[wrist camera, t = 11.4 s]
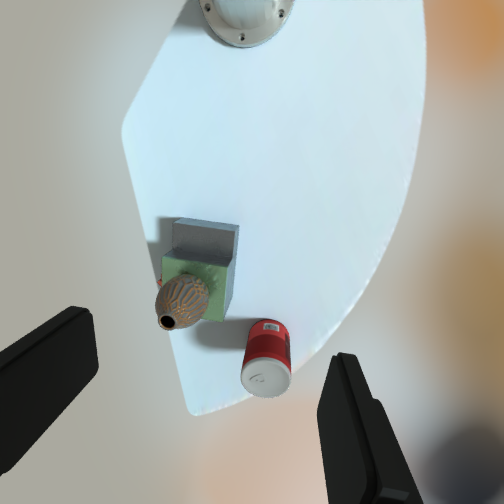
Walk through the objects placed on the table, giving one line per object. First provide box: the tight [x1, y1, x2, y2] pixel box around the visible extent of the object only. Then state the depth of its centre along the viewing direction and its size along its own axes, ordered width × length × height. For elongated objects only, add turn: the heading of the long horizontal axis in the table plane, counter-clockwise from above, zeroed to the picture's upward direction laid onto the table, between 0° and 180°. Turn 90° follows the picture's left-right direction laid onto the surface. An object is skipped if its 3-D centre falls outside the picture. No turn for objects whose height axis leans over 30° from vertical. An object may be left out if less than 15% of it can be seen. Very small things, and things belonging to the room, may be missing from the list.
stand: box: [157, 218, 239, 322], centre depth 41 cm, size 14×11×8 cm
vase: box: [155, 274, 209, 330], centre depth 34 cm, size 7×7×9 cm
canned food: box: [241, 319, 291, 398], centre depth 43 cm, size 8×8×11 cm
